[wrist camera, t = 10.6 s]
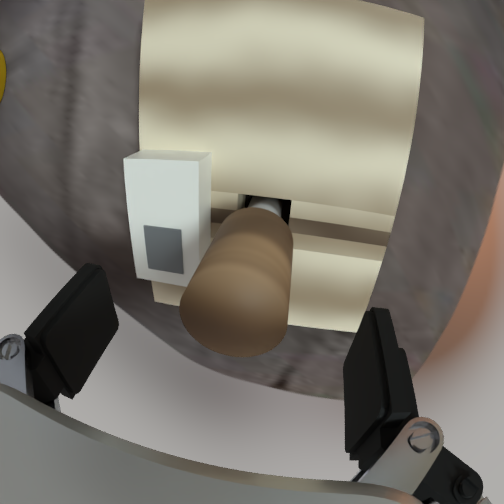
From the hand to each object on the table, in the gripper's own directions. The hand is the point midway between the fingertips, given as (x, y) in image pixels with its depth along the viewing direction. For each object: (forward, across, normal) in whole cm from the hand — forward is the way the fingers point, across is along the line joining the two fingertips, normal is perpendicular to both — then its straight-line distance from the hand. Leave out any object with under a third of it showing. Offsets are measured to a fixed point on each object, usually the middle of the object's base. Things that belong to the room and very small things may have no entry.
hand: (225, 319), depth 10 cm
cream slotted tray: (+12, 0, -2) cm, 13 cm away
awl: (+12, 0, +1) cm, 12 cm away
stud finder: (+9, +5, +1) cm, 11 cm away
